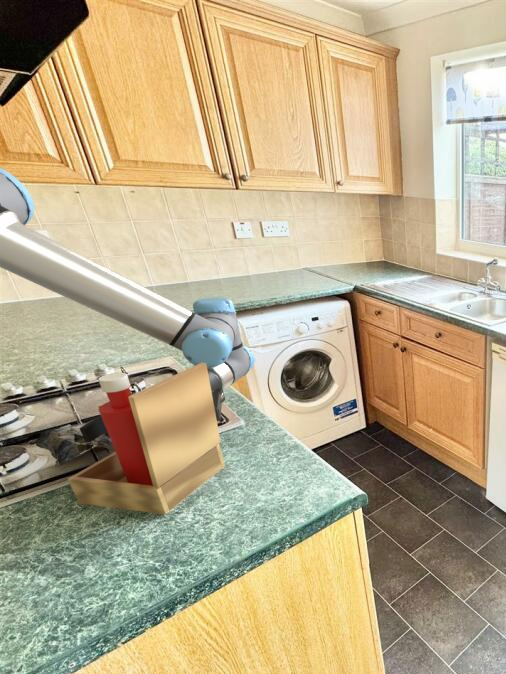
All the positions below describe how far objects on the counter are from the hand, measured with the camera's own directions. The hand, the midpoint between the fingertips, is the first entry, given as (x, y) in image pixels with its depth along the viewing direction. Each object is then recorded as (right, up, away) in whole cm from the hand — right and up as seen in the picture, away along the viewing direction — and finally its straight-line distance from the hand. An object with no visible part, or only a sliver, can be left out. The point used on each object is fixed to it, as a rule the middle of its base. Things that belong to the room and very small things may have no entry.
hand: (128, 436), depth 70 cm
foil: (-16, -6, +13) cm, 21 cm away
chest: (0, -10, +6) cm, 11 cm away
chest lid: (+9, +2, -1) cm, 10 cm away
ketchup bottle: (-1, -9, +6) cm, 11 cm away
